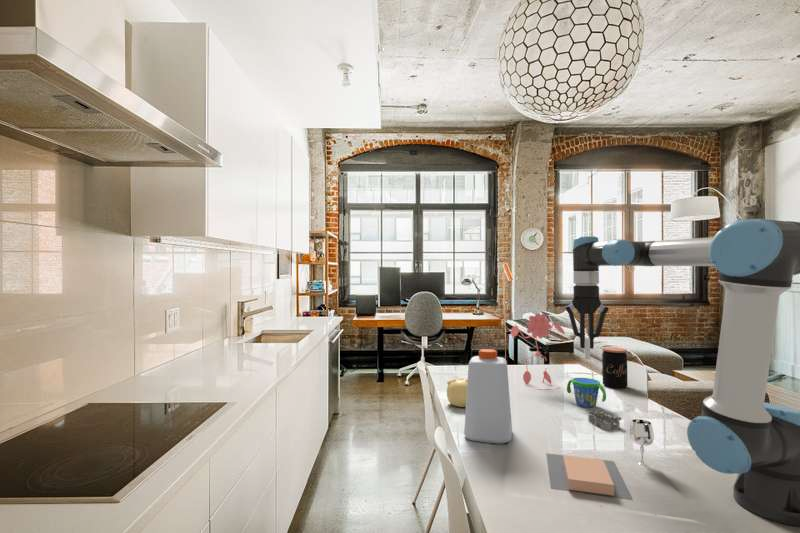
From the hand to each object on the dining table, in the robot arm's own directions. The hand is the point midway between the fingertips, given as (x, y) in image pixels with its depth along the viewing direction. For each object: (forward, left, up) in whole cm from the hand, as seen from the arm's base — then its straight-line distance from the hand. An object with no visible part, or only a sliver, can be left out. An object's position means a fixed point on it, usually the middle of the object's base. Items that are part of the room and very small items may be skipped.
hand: (586, 358), depth 131 cm
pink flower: (+56, -39, -27) cm, 73 cm away
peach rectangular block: (-12, +18, -24) cm, 32 cm away
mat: (-15, +20, -26) cm, 36 cm away
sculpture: (+50, +13, -27) cm, 58 cm away
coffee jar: (+38, -70, -27) cm, 84 cm away
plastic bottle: (+19, +24, -27) cm, 41 cm away
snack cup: (+25, -32, -27) cm, 49 cm away
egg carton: (+8, -19, -27) cm, 34 cm away
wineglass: (-18, +1, -27) cm, 32 cm away
